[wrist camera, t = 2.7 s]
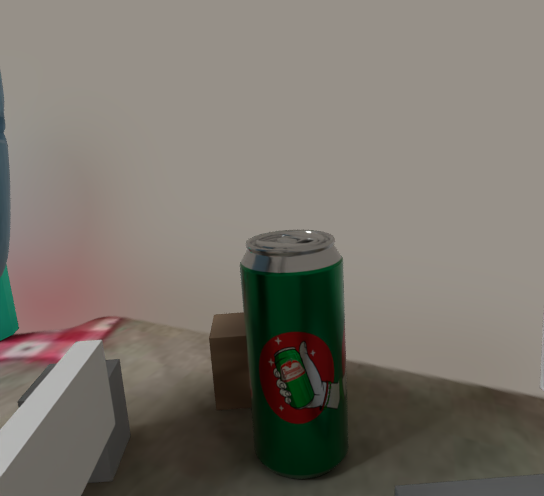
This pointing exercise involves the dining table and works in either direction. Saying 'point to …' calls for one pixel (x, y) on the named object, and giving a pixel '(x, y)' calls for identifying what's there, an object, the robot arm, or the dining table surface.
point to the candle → (7, 308)
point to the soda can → (296, 351)
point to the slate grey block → (120, 432)
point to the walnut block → (230, 361)
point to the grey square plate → (478, 487)
